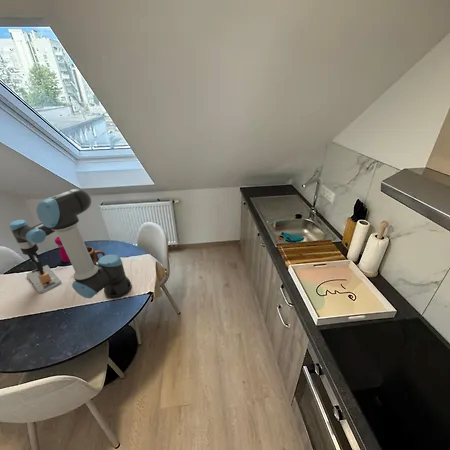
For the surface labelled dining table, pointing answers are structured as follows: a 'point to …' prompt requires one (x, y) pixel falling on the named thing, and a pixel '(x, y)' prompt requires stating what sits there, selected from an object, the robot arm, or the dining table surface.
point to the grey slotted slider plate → (46, 286)
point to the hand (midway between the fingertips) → (43, 277)
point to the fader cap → (44, 278)
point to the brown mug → (94, 254)
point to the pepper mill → (62, 250)
